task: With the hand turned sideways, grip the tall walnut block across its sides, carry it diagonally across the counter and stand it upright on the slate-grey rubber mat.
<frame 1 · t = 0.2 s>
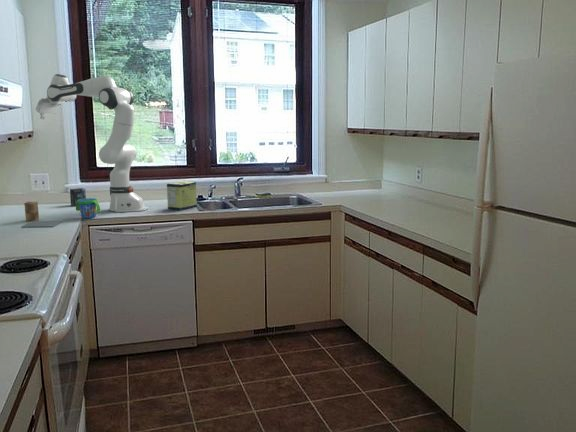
hand: (48, 118, 353), 54 cm above the worktop, tool tilted 30°, fingers open, 8 cm apart
snack cup: (88, 217, 314), on the worktop
mat: (42, 224, 295), on the worktop
protein box: (182, 208, 344), on the worktop
box: (78, 205, 355), on the worktop
walnut block: (32, 220, 306), on the worktop
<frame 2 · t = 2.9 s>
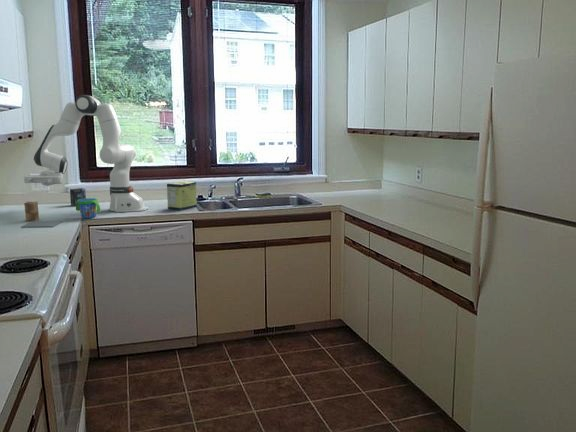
hand: (38, 181, 314), 20 cm above the worktop, tool horizontal, fingers open, 8 cm apart
nothing on the worktop moved.
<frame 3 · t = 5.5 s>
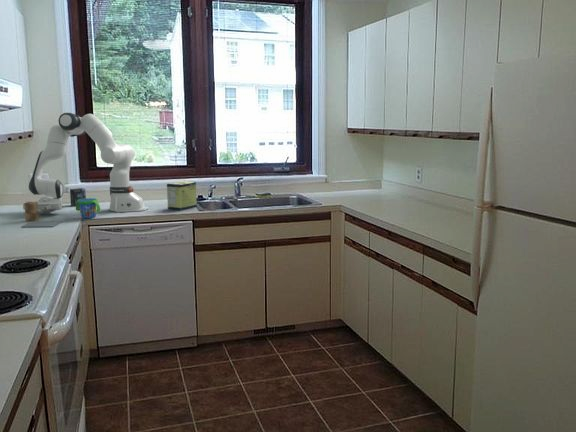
hand: (37, 208, 313), 6 cm above the worktop, tool horizontal, fingers open, 8 cm apart
nothing on the worktop moved.
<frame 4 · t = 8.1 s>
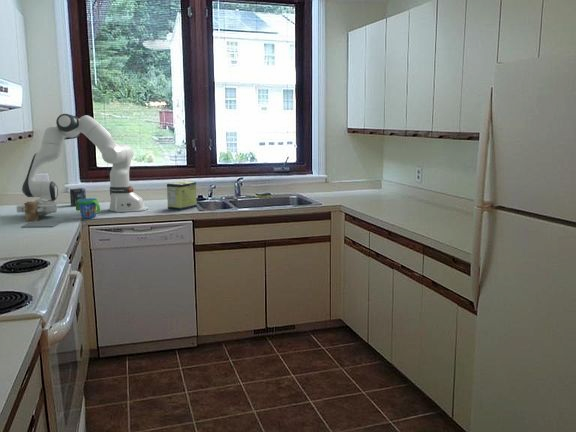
hand: (31, 210, 304), 6 cm above the worktop, tool horizontal, fingers closed on walnut block, 5 cm apart
walnut block: (32, 220, 306), on the worktop, touching gripper
everything else where it was.
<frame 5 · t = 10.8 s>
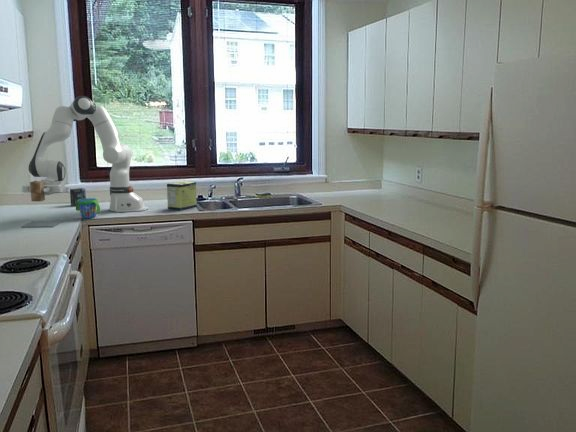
hand: (36, 190, 292), 18 cm above the worktop, tool horizontal, fingers closed on walnut block, 5 cm apart
walnut block: (38, 200, 294), point 12 cm above the worktop, touching gripper
everything else where it was.
when the fingers open (7 cm above the worktop, at t = 13.9 s): walnut block drops 1 cm, resting on mat.
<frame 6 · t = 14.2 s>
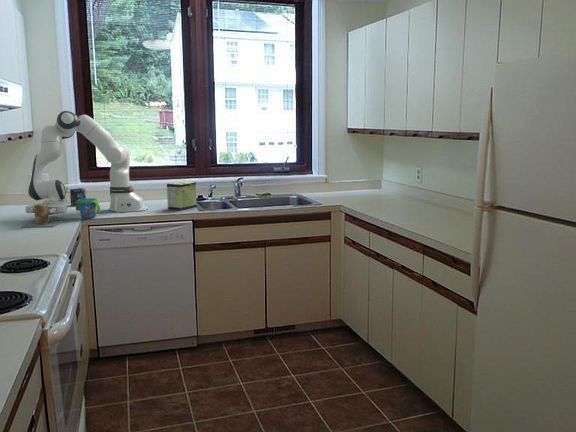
hand: (40, 211, 293), 7 cm above the worktop, tool horizontal, fingers open, 8 cm apart
walnut block: (42, 223, 295), point 1 cm above the worktop, touching mat
everything else where it was.
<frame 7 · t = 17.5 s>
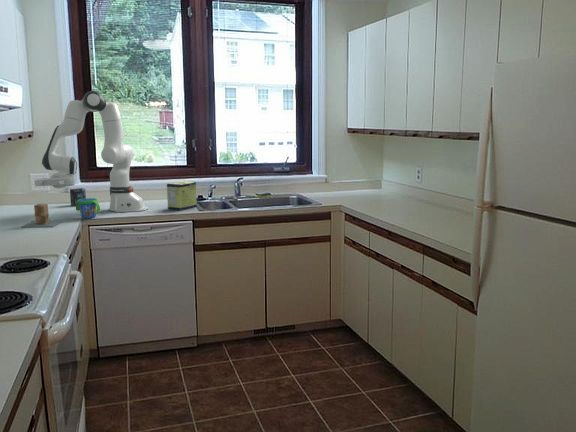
hand: (49, 183, 304), 20 cm above the worktop, tool horizontal, fingers open, 8 cm apart
nothing on the worktop moved.
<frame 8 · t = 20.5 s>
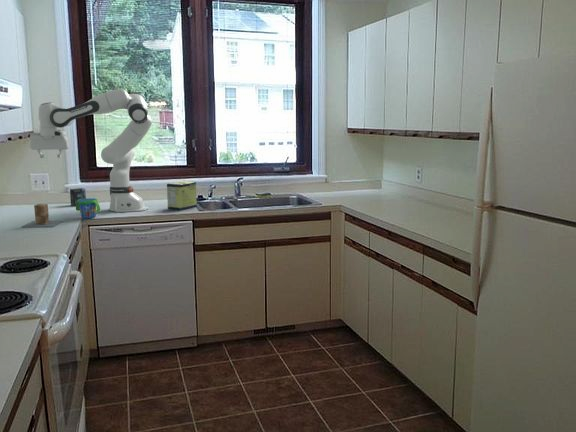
hand: (50, 157, 312), 33 cm above the worktop, tool pointing down, fingers open, 8 cm apart
nothing on the worktop moved.
at the end: walnut block inside the target area on the mat (0.0 cm from its centre), point 0.6 cm above the mat's base; walnut block tilted 0°; the gripper is holding nothing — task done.
